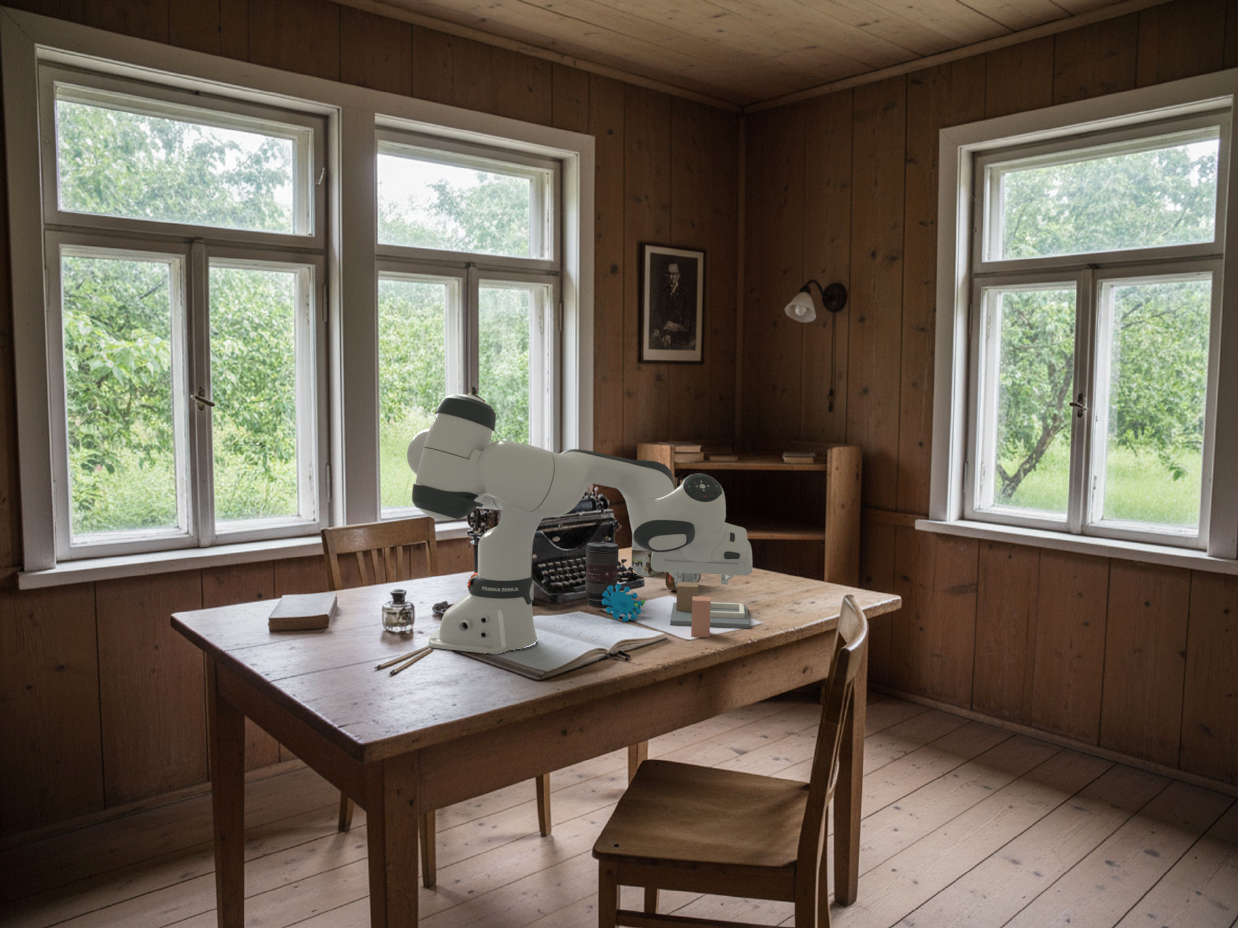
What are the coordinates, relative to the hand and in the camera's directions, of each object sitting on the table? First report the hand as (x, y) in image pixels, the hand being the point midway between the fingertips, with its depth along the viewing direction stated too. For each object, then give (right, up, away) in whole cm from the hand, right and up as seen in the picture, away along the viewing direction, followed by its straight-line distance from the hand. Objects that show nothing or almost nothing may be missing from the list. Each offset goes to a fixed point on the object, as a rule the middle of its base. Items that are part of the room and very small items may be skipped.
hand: (701, 580), depth 191 cm
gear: (-16, -13, +28) cm, 35 cm away
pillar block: (+1, -14, +15) cm, 21 cm away
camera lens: (-21, -11, +42) cm, 49 cm away
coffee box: (-8, -8, +81) cm, 82 cm away
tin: (+1, -10, +61) cm, 62 cm away
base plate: (+5, -12, +31) cm, 33 cm away
